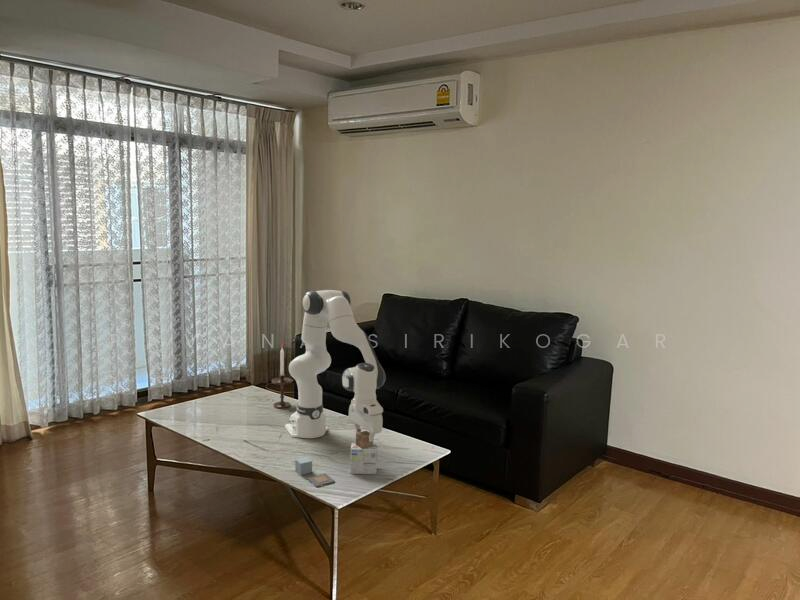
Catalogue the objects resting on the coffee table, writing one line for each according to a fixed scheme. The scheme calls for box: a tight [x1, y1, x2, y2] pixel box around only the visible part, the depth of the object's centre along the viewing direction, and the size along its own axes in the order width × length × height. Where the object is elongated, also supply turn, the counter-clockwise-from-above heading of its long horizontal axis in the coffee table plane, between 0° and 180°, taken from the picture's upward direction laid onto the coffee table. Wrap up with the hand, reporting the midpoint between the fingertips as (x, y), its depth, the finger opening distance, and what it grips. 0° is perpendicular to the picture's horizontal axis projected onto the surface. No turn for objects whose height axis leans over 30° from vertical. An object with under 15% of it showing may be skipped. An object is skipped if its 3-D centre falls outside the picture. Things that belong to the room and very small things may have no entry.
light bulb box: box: [350, 442, 378, 475], centre depth 236 cm, size 11×7×11 cm, turn 93°
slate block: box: [294, 456, 313, 476], centre depth 234 cm, size 5×5×5 cm
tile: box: [306, 472, 336, 488], centre depth 227 cm, size 8×8×1 cm
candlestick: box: [271, 342, 293, 410], centre depth 310 cm, size 11×11×35 cm
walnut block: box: [355, 430, 374, 449], centre depth 235 cm, size 5×5×5 cm
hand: (364, 437), depth 235 cm, fingers open, 8 cm apart
